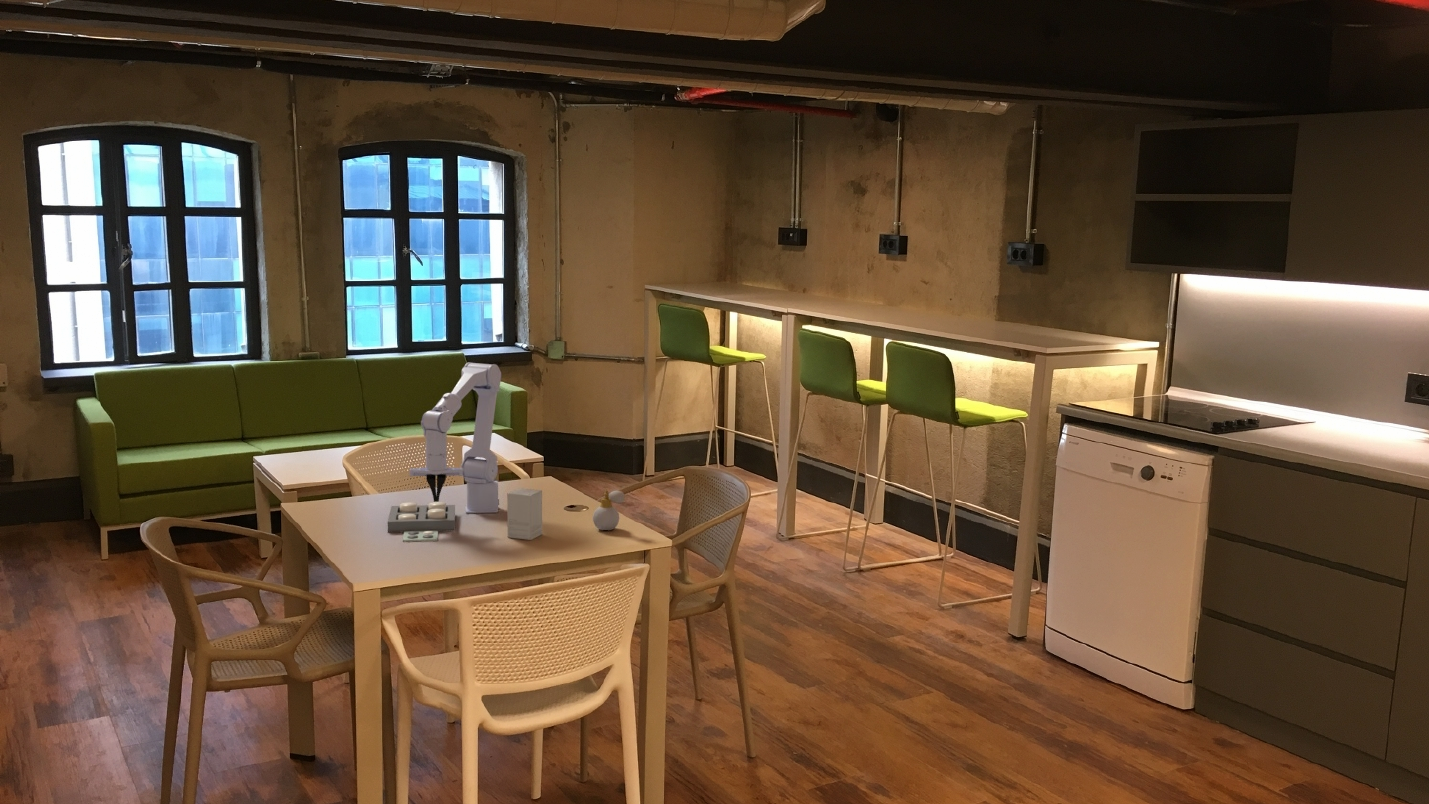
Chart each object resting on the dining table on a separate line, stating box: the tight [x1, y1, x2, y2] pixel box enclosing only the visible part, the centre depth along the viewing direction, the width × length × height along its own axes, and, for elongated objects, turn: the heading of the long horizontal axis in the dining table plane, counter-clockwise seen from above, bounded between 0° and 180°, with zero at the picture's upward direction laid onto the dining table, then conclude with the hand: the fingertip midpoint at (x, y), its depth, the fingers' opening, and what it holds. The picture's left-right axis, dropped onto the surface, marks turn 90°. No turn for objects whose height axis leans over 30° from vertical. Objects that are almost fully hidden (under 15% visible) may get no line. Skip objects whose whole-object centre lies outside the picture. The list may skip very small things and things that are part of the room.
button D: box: [428, 501, 447, 512], centre depth 338 cm, size 5×5×3 cm
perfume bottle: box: [592, 489, 626, 531], centre depth 332 cm, size 8×10×12 cm
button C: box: [399, 502, 418, 513], centre depth 336 cm, size 5×5×3 cm
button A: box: [398, 514, 416, 520], centre depth 329 cm, size 5×5×3 cm
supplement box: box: [506, 487, 543, 541], centre depth 323 cm, size 7×7×13 cm
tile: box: [402, 530, 439, 543], centre depth 320 cm, size 9×9×1 cm
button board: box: [387, 504, 456, 533], centre depth 334 cm, size 18×18×3 cm
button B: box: [428, 509, 445, 519], centre depth 330 cm, size 5×5×3 cm
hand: (436, 501), depth 330 cm, fingers closed
